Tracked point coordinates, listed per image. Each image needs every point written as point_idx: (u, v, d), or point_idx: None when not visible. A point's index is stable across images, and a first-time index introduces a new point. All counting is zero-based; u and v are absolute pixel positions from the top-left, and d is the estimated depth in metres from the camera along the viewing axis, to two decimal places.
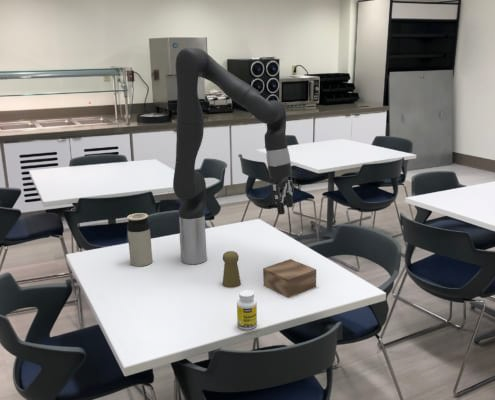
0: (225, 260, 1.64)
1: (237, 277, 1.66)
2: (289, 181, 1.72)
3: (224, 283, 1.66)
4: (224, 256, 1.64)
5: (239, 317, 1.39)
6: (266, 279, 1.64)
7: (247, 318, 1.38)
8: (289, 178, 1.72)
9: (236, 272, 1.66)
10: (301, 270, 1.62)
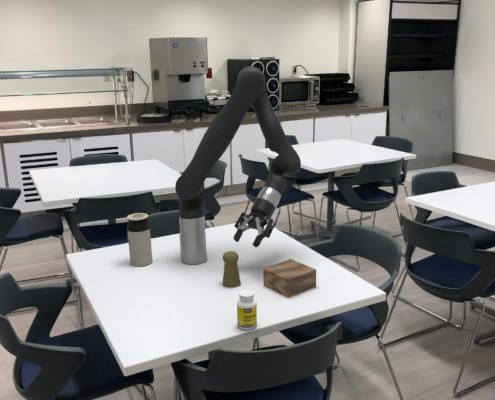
0: (225, 260, 1.64)
1: (237, 277, 1.66)
2: (246, 219, 1.77)
3: (224, 283, 1.66)
4: (224, 256, 1.64)
5: (239, 317, 1.39)
6: (266, 279, 1.64)
7: (247, 319, 1.38)
8: None
9: (236, 272, 1.66)
10: (301, 270, 1.62)
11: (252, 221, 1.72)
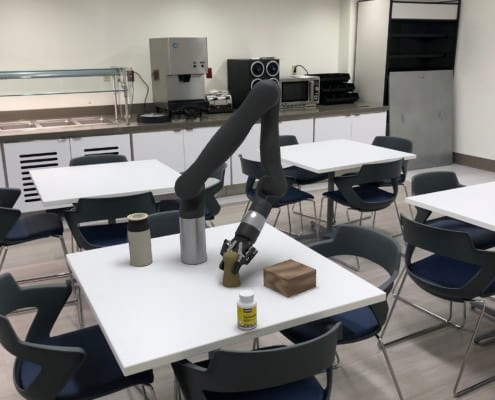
0: (225, 260, 1.64)
1: (237, 277, 1.66)
2: (230, 246, 1.72)
3: (224, 283, 1.66)
4: (224, 256, 1.64)
5: (239, 317, 1.39)
6: (266, 279, 1.64)
7: (247, 319, 1.38)
8: None
9: None
10: (301, 270, 1.62)
11: (237, 246, 1.68)
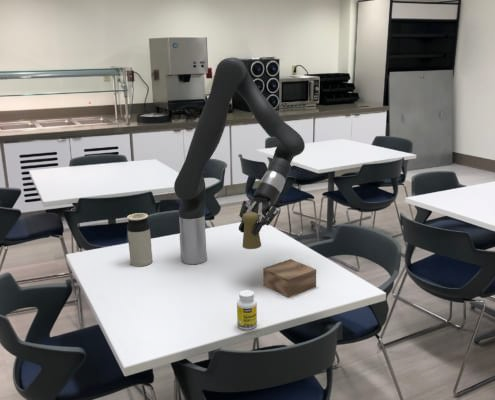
0: (245, 220, 1.60)
1: (257, 238, 1.61)
2: (249, 208, 1.68)
3: (244, 245, 1.62)
4: (244, 216, 1.60)
5: (239, 317, 1.39)
6: (266, 279, 1.64)
7: (247, 319, 1.38)
8: None
9: None
10: (301, 270, 1.62)
11: (256, 206, 1.63)
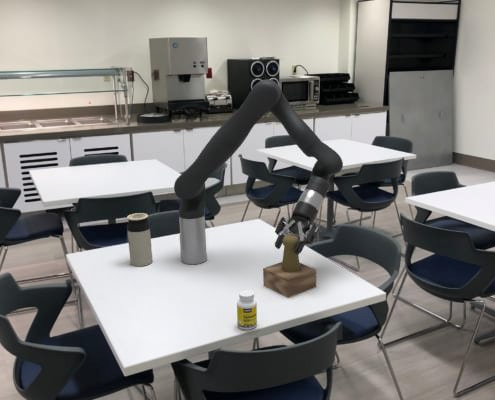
0: (286, 244, 1.60)
1: (297, 262, 1.61)
2: (286, 225, 1.68)
3: (284, 268, 1.62)
4: (284, 240, 1.60)
5: (239, 317, 1.39)
6: (266, 279, 1.64)
7: (247, 319, 1.38)
8: None
9: (296, 256, 1.61)
10: (301, 270, 1.62)
11: (294, 226, 1.63)
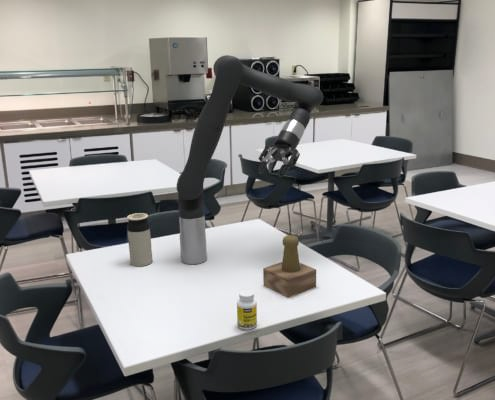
0: (286, 244, 1.59)
1: (297, 262, 1.61)
2: (269, 153, 1.79)
3: (284, 268, 1.62)
4: (284, 240, 1.60)
5: (239, 317, 1.39)
6: (266, 279, 1.64)
7: (247, 319, 1.38)
8: None
9: (296, 256, 1.61)
10: (301, 270, 1.62)
11: (276, 153, 1.74)
